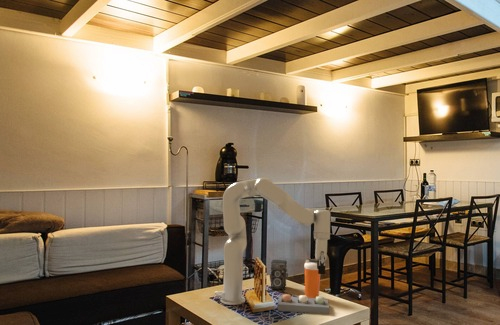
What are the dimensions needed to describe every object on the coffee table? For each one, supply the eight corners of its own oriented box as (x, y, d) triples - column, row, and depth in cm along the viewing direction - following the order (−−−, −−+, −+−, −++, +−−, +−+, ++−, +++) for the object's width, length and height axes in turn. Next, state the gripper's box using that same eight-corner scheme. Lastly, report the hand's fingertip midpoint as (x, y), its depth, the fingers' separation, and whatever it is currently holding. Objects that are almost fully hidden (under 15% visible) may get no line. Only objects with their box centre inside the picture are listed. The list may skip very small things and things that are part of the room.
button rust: (282, 303, 197) (282, 296, 197) (282, 300, 201) (282, 293, 201) (290, 303, 197) (290, 296, 197) (290, 300, 201) (290, 294, 201)
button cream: (299, 304, 196) (299, 297, 196) (298, 301, 200) (299, 294, 200) (307, 304, 196) (307, 298, 196) (307, 301, 200) (307, 295, 200)
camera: (267, 290, 223) (268, 263, 223) (270, 285, 234) (270, 258, 233) (286, 292, 221) (287, 264, 221) (288, 286, 232) (289, 260, 232)
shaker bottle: (320, 301, 208) (321, 262, 208) (302, 299, 210) (303, 260, 210) (320, 295, 217) (321, 258, 217) (303, 294, 219) (305, 256, 219)
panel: (277, 310, 194) (277, 304, 194) (278, 301, 205) (278, 296, 205) (329, 314, 191) (329, 307, 191) (327, 305, 203) (327, 299, 203)
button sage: (315, 305, 196) (316, 298, 196) (315, 302, 200) (315, 295, 200) (324, 305, 195) (324, 299, 195) (323, 302, 199) (323, 296, 199)
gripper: (313, 232, 206) (312, 266, 206) (315, 238, 189) (314, 276, 189) (328, 232, 206) (327, 267, 206) (331, 239, 188) (330, 276, 188)
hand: (320, 271), depth 197 cm, fingers open, 8 cm apart
